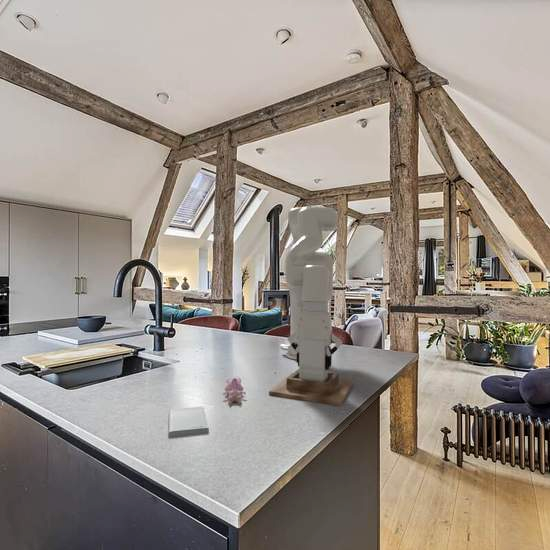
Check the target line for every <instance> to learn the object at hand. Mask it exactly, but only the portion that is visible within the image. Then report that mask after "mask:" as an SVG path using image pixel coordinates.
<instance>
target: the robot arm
mask: <svg viewBox="0 0 550 550" xmlns="http://www.w3.org/2000/svg"><path fill="white" fill-rule="evenodd" d="M287 221H288V227H289V230H290V233H291V236H292V240H293V245H292V246H291V247H290V249H289V251H288V252H287V254H286V257H285V262H284V264H285V265H284V266H285V267H284V276H285V277H284V278H285V283H286V285H287V287H289V288H288V291H289V300H290V335H289V336H288V337H287V339H286V340H287V341H288V343H289V344H288V345H287V344H281V345H280V350H282V351H287V352H286V353H285V354H286V357H287V358H288V359H291V360H296V363H297V367H298V368H299V339H314V340H324V347H325V352H326V356H325V370H329V369H330V367H332V361H333V360H332V355H334V353H336V352H337V351H338V349H340V347H341V346H342V345H343V341H342V340H341V339H339V338H338V337H337V336H336V335H335V334H334V333H333V327H332V326H333V325H332V316H331V312H330V311H329V303H330V302H331V301H332V299H333V291H334V260H333V258H332V255H331V254H330V253H328V252H317V251H319V250H320V249H321V248H322V246H323V244H324V239H323V232H333V231H336V229H337V227H338V224H339V216H338V212H337V210H336V209H335V208H334V207H331V206H330V207H325V206H324V207H323V206H318V207H317V206H307V207H306V206H305V207H303V206H299V207H293V208H291V209H290V210H289V211H288V214H287ZM333 342H334V343H335V345H334V346H333V347H332V346H331V345H332V343H333ZM331 347H332V348H331Z"/></svg>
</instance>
